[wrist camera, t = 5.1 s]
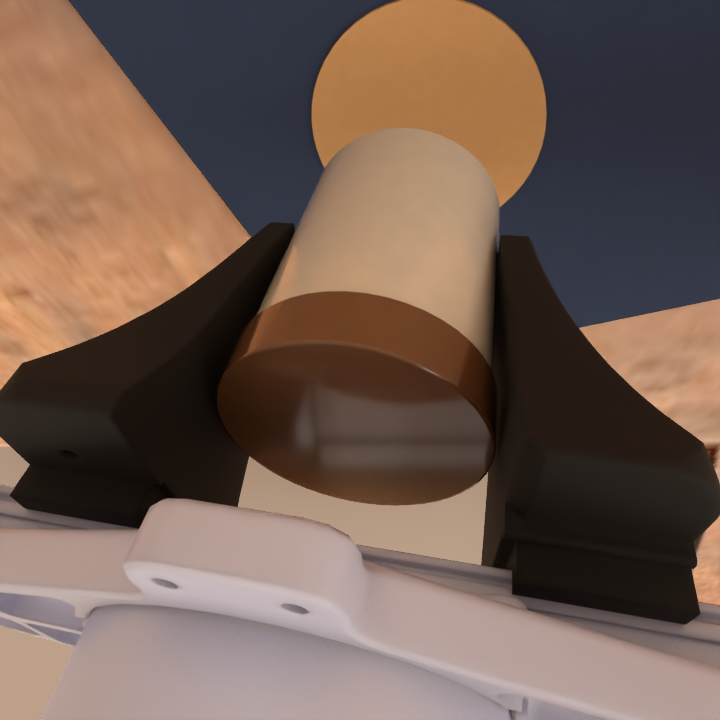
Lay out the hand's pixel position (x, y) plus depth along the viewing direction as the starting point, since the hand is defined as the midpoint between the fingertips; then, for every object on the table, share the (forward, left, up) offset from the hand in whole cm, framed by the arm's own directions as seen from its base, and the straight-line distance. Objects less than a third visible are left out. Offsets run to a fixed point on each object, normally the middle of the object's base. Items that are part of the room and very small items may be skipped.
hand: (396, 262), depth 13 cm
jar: (0, 0, -2) cm, 2 cm away
